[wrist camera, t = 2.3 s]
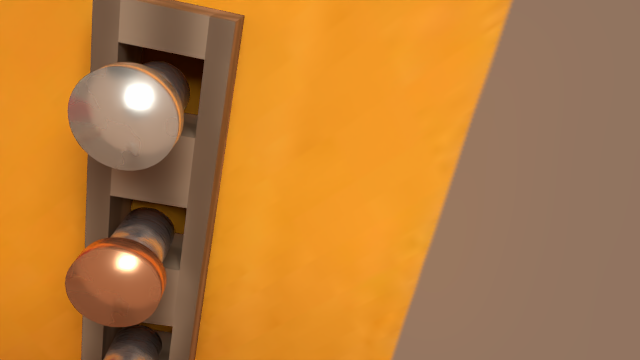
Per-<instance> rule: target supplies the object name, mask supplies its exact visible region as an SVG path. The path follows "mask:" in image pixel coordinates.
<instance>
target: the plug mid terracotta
mask: <svg viewBox="0 0 640 360" xmlns="http://www.w3.org/2000/svg"><path fill="white" fill-rule="evenodd" d="M174 235H175V231H174V226H173V224H172V222H171V220H170V219H169V218H168V217H167V216H166V215H165V214H164V213H162V212H161V211H158V210H156V209H153V208H138V209H135V210H133V211H131V212H129V213H128V214H127V215H126V216H125V218H124V219H123V221H122V222H121V223H120V225H119V226H118V227H117V229H116V230H115V232H114V233H113V234H112V236H111V237H110V238H104V239H100V240H98V241H95V242H93V243H92V244H90V245H89V246H87V247H86V248H85V249H84V250H83V251H82V253H81V254H80V255H79V256H78V258H77V259H76V260H75V261H74V263H73V264H72V265H71V267H70V268H69V270H68V272H67V275H66V281H65V286H66V292H67V295H68V298H69V300H70V301H71V303H72V304H73V306H74V307H75V308H76V309H77V310H78V311H79V312H80V313H81V314H82V315H83V316H85V317H86V318H88V319H90V320H92V321H93V322H96V323H98V324H101V325H105V326H110V327H128V326H133V325H136V324H139V323H141V322H143V321H145V320H146V319H147V318H149V317H150V316H151V315H152V314H153V313H154V311H155V310H156V308H157V307H158V304H159V302H160V300H161V297H162V295H163V293H164V290H165V287H166V280H167V277H166V271H165V268H164V266H163V261H164V259H165V256H166V254H167V252H168V250H169V248H170V246H171V244H172V242H173V239H174Z"/></svg>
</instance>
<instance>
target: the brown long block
mask: <svg viewBox="0 0 640 360" xmlns="http://www.w3.org/2000/svg"><path fill="white" fill-rule="evenodd" d="M243 22H244V15H240V14H235V13H230V12H226V11H221V10H216V9H212V8H207V7H203V6H198V5H193V4H189V3H184V2H179V1H175V0H93V12H92V43H91V72H93V71H95V70H98V69H100V68H102V67H104V66H107V65H109V64H113V63H118V62H132V63H138V64H141V61H142V47H145V48H150V49H155V50H160V51H165V52H170V53H175V54H180V55H185V56H189V57H194V58H199V59H204V68H203V77H202V85H201V94H200V102H199V110H198V115H194V114H188V113H184V124H183V129H182V132H181V135H180V137H179V139H178V141H177V142H176V144H175V145H174V147H173V148H172V149H171V151H170V152H169V153H168V155H167V156H166V157H165V158H164V159H162V160H161V161H160V162H159V163H157V164H155V165H153V166H151V167H149V168H146V169H142V170H135V171H127V170H119V169H115V168H112V167H109V166H106V165H104V164H102V163H100V162H98V161H97V160H95V159H94V158H93V157H91V156H90V155H89V154H88V168H87V199H86V230H85V248H86V247H87V246H89V245H90V244H92V243H93V242H95V241H98V240H100V239H104V238H110V237H111V236H112V234H113V233H114V232H115V230H116V229H117V227H118V226H119V225H120V223H121V222H122V221H123V219H124V218H125V216H126V215H127V214H128V213H129V212H131V202H132V199H135V200H141V201H147V202H153V203H159V204H165V205H171V206H177V207H183V208H187V211H186V220H185V228H184V234H179V233H175V235H174V239H173V242H172V244H171V246H170V248H169V250H168V252H167V254H166V256H165V259H164V261H163V266H164V268H165V271H166V277H167V280H166V287H165V290H164V293H163V295H162V297H161V300H160V302H159V304H158V307H157V308H156V310H155V311H154V313H153V314H152V315H151V316H150V317H149V318H147V319H146V320H145V321H143V323H151V324H158V325H165V326H173V329H172V333H170V332H163V331H156V330H154V331H155V332H156V333H157V334H158V335H159V336H160V338H161V341H162V349H161V352H160V355H159V358H158V360H195V354H196V347H197V340H198V334H199V327H200V320H201V313H202V306H203V299H204V292H205V285H206V278H207V271H208V264H209V257H210V250H211V244H212V237H213V230H214V223H215V216H216V209H217V202H218V195H219V188H220V181H221V174H222V167H223V160H224V154H225V147H226V140H227V133H228V126H229V119H230V112H231V105H232V98H233V91H234V84H235V77H236V70H237V64H238V57H239V50H240V43H241V36H242V29H243ZM122 328H123V327H110V326H105V325H101V324H98V323H96V322H93V321H92V320H90V319H88V318H86V317H85V316H83V324H82V355H81V360H103V359H104V357H105V355H106V353H107V351H108V349H109V347H110V345H111V344H112V342H113V340H114V338H115V336H116V334H117V332H118V331H119V330H120V329H122Z"/></svg>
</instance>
